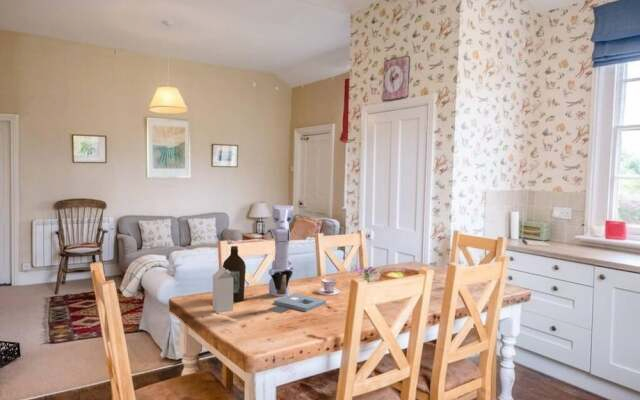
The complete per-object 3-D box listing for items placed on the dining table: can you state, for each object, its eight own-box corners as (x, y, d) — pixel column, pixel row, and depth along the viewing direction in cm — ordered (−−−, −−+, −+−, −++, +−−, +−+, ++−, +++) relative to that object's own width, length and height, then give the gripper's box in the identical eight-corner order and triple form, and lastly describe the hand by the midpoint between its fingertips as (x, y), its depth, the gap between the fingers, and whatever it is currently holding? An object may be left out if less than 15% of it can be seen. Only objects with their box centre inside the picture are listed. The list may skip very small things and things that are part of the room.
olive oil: (225, 295, 211) (226, 244, 210) (247, 296, 210) (248, 245, 209) (219, 302, 201) (219, 248, 199) (242, 303, 200) (242, 248, 198)
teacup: (345, 291, 224) (345, 279, 224) (333, 297, 214) (333, 284, 214) (325, 288, 231) (325, 276, 230) (312, 293, 220) (312, 280, 220)
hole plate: (274, 305, 197) (274, 300, 197) (294, 298, 209) (294, 292, 209) (306, 314, 187) (306, 307, 187) (326, 305, 199) (326, 299, 199)
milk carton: (216, 314, 183) (216, 269, 182) (212, 309, 190) (212, 266, 188) (233, 312, 187) (233, 268, 185) (228, 307, 193) (228, 265, 192)
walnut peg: (274, 293, 189) (275, 274, 188) (280, 291, 192) (281, 273, 192) (281, 294, 187) (282, 276, 186) (287, 292, 190) (288, 274, 189)
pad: (266, 311, 188) (266, 309, 188) (278, 307, 195) (278, 305, 195) (280, 315, 184) (280, 313, 184) (292, 311, 190) (292, 308, 190)
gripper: (277, 261, 180) (277, 293, 181) (299, 256, 192) (299, 286, 193) (265, 258, 184) (264, 290, 185) (287, 253, 196) (286, 283, 197)
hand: (281, 288), depth 189 cm, fingers closed on walnut peg, 4 cm apart
